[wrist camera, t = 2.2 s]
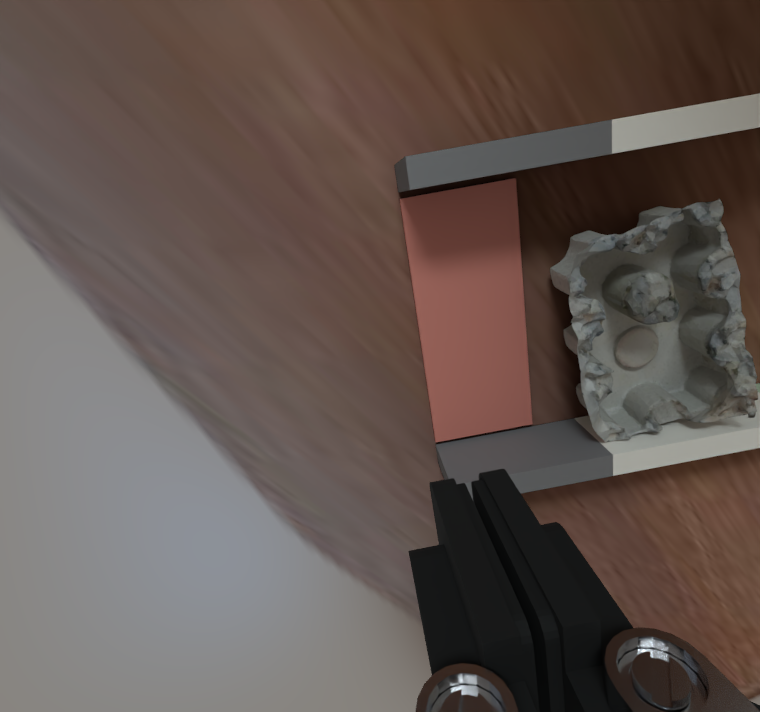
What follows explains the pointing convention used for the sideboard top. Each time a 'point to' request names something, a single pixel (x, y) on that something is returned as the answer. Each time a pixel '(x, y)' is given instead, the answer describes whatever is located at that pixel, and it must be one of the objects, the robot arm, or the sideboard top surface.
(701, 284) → the egg carton
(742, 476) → the sideboard top surface
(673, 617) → the sideboard top surface
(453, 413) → the frame
